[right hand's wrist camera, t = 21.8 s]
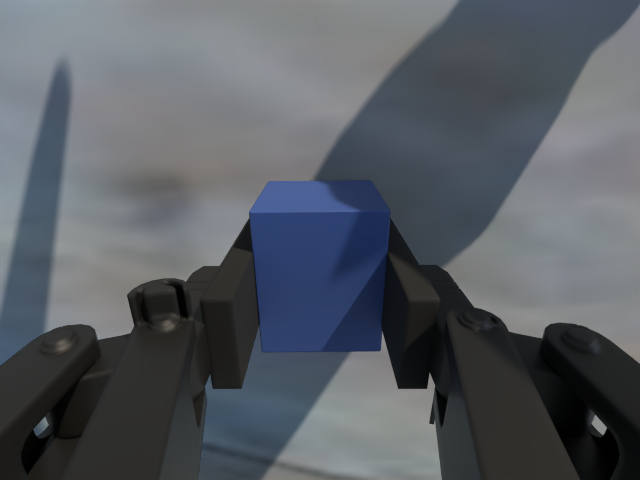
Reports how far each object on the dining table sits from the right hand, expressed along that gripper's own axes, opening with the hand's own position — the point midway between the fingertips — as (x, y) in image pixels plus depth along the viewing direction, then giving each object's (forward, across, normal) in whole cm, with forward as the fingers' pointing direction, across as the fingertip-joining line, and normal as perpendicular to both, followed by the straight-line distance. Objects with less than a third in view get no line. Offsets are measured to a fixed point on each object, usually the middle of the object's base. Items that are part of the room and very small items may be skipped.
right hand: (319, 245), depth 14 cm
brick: (0, 0, 0) cm, 0 cm away
